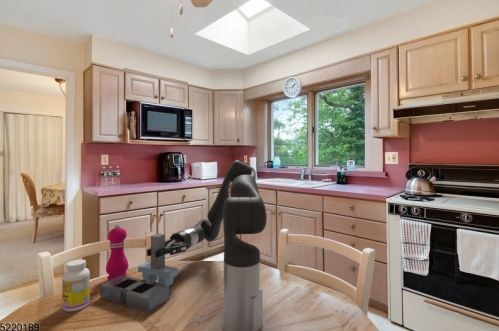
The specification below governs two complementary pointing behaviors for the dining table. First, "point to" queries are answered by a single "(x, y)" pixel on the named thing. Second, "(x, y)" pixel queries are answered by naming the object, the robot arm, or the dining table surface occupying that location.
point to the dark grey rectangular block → (135, 293)
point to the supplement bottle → (75, 286)
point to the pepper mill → (117, 253)
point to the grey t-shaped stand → (158, 264)
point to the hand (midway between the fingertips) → (151, 253)
